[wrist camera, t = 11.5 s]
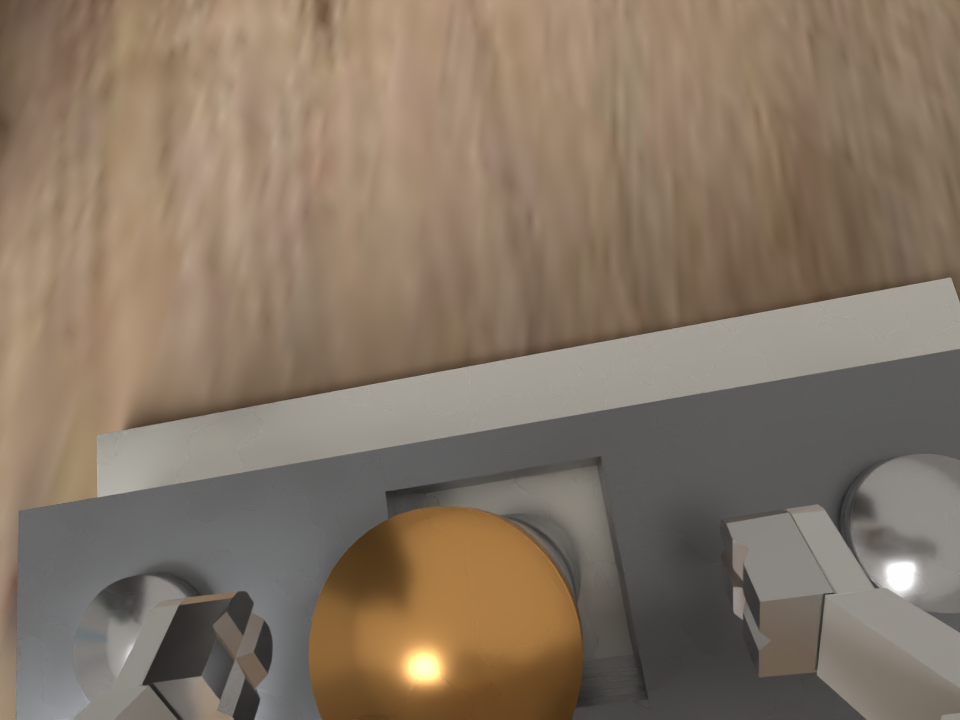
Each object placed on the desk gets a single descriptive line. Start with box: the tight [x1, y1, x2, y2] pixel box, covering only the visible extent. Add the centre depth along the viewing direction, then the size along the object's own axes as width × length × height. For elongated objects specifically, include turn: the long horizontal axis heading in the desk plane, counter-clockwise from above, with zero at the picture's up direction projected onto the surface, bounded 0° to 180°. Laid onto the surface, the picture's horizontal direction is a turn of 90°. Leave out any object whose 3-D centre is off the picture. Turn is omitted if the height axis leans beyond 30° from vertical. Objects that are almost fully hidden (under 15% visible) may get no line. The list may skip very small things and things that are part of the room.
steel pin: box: [309, 507, 583, 720], centre depth 13 cm, size 4×4×10 cm
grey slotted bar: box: [16, 277, 960, 720], centre depth 16 cm, size 26×12×6 cm, turn 99°
